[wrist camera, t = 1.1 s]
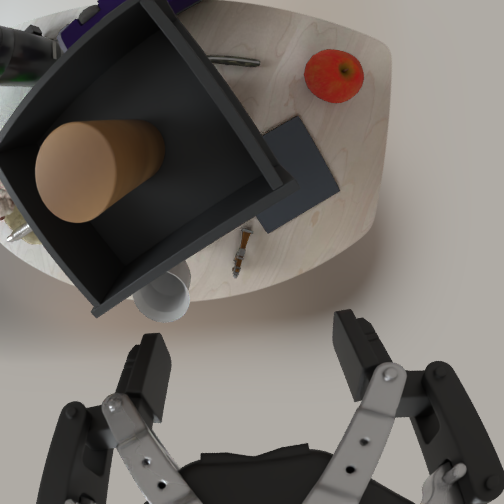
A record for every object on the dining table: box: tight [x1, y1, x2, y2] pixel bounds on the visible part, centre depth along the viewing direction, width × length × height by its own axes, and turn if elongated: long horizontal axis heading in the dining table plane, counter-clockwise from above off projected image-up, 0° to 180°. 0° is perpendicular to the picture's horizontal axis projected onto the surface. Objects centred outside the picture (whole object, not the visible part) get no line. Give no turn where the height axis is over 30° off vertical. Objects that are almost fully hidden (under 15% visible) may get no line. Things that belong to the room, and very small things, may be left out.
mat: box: [256, 116, 340, 233], centre depth 44 cm, size 14×14×1 cm
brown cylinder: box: [35, 119, 165, 223], centre depth 13 cm, size 4×4×8 cm
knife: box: [207, 55, 260, 67], centre depth 34 cm, size 20×1×3 cm, turn 85°
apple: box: [304, 49, 364, 103], centre depth 33 cm, size 8×8×11 cm
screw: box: [7, 222, 32, 242], centre depth 35 cm, size 13×5×5 cm
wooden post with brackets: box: [232, 229, 254, 278], centre depth 48 cm, size 2×8×4 cm, turn 162°
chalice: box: [133, 260, 191, 322], centre depth 40 cm, size 7×7×18 cm
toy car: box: [57, 0, 203, 53], centre depth 27 cm, size 10×24×10 cm, turn 120°
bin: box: [0, 0, 300, 318], centre depth 26 cm, size 14×14×32 cm
